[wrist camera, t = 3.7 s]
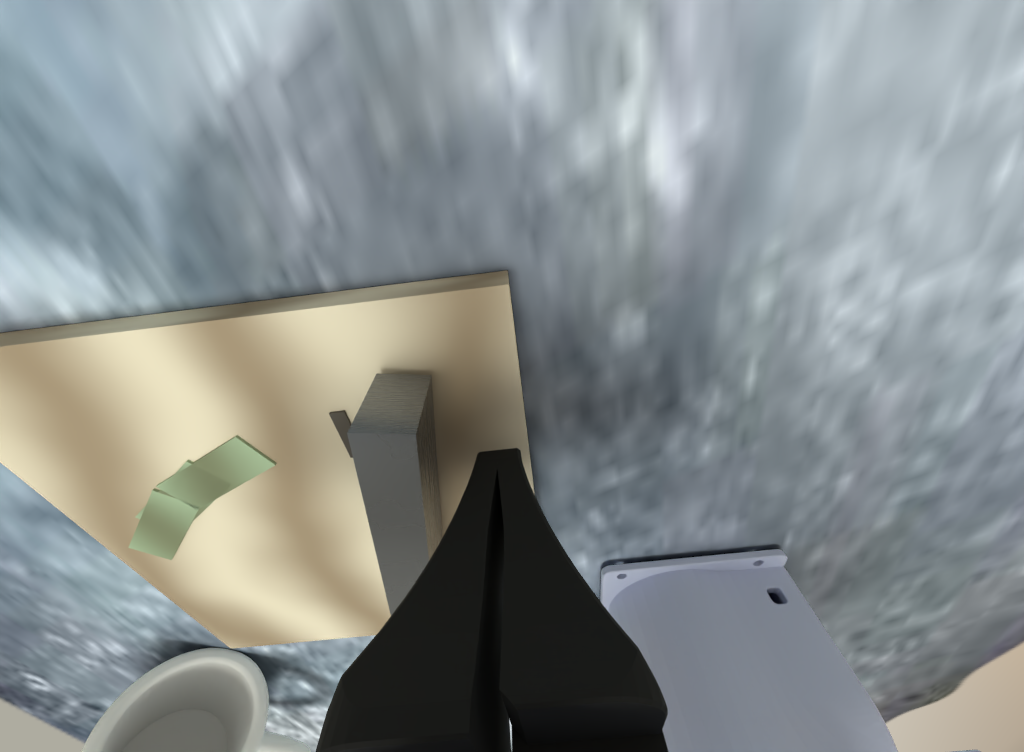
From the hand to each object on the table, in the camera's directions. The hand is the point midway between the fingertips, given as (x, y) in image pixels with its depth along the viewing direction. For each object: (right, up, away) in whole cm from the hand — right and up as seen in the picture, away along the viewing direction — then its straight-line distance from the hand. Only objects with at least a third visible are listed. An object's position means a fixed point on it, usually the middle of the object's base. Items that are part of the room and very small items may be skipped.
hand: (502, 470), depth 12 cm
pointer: (-3, -3, +3) cm, 6 cm away
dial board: (-8, -3, +4) cm, 9 cm away
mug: (-19, -18, +14) cm, 30 cm away
